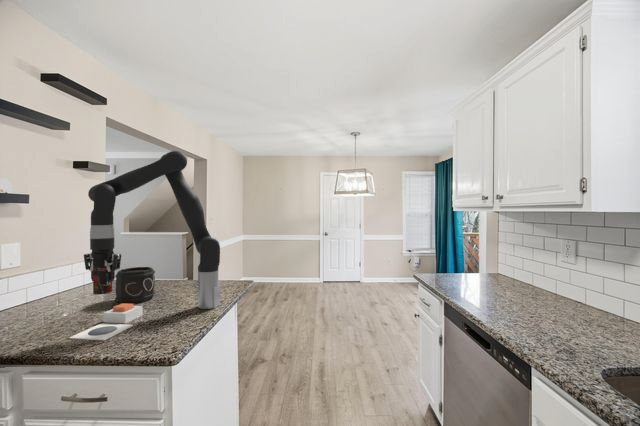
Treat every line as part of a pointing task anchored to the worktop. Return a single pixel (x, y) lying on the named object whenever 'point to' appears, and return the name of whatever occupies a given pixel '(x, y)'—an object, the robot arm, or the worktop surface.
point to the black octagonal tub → (135, 285)
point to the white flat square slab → (101, 331)
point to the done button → (123, 307)
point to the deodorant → (100, 274)
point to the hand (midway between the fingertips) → (102, 280)
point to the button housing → (122, 315)
